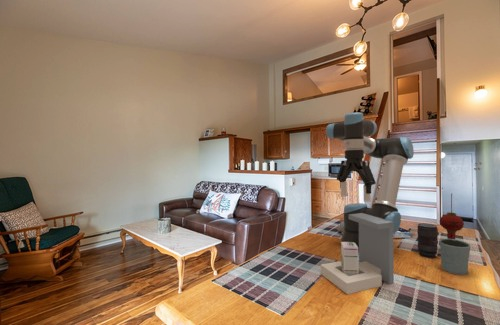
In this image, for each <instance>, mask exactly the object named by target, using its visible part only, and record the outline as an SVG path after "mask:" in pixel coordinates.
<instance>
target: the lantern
mask: <svg viewBox="0 0 500 325" xmlns="http://www.w3.org/2000/svg"><path fill="white" fill-rule="evenodd" d="M450 196H451V197H450V202H451V204H450V206H451V207H450V212H447V213H446V214H444V215H442V216H441V217H440V220H439V224H440V226H441V228H443V229H445V230H446V233H447V236H446V237H447V238H446V239H455V240H456V234H457V232H458V231H459V232H460V231H461V230H462V229H464V221H463V219H462V218H461V217H460V216H458V215H457V213H455V212H453V207H452V206H453V204H452V203H453V193H450Z"/></svg>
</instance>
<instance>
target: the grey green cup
mask: <svg viewBox="0 0 500 325" xmlns="http://www.w3.org/2000/svg"><path fill="white" fill-rule="evenodd" d="M438 243H439V246H440V247H439V248H440V264H441V269H443V271H445V272H447V273H450V274H454V275H460V276H461V275H462V276H465V275H467V274H469V273H468V272H469V271H468V270H469V260H470V254H471V253H470V251H471V244H470V243H468V242H467V241H463V240H460V239H456V238H455V239H447V238H441V239H439V240H438Z"/></svg>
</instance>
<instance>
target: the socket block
mask: <svg viewBox="0 0 500 325" xmlns="http://www.w3.org/2000/svg"><path fill="white" fill-rule="evenodd" d="M349 219H350V220H353V221H356V222H359V251H358V262H359V274H357V275H352V276H347V275H346V274H344V273H343V272H342V266H341V260H338V261H334V262H328V263H321V264H320V275H321V276H323V277H324V278H326V279H327V280H328V281H330V282H331V283H332V284H333V285H335V287H337V288H338V289H340V290H341V291H342V292H344V293H345V294H347V295H350V294H355V293H358V292H362V291H367V290H370V289H376V288H379V287H382V286H383V285H382V284H383V283H382V281H384V282H385V283H387V284H389V285H391V284H394V283H395V281H394V267H395V266H394V263H395V262H394V259H395V258H394V257H395V256H394V249H395V248H394V240H395V239H394V226H393V222H392V221H388V220H385V219H381V218H378V217H374V216H371V215H367V214H364V213H358V214H349Z"/></svg>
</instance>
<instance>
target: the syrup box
mask: <svg viewBox="0 0 500 325" xmlns="http://www.w3.org/2000/svg"><path fill="white" fill-rule="evenodd" d="M340 254H341V255H340V259H341V260H340V261H341V266H342V272H343V273H344V274H346V275H347V276H352V275H357V274H359V251H358V247H357V245H356V244H355V243H354V242H341V241H340Z"/></svg>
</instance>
